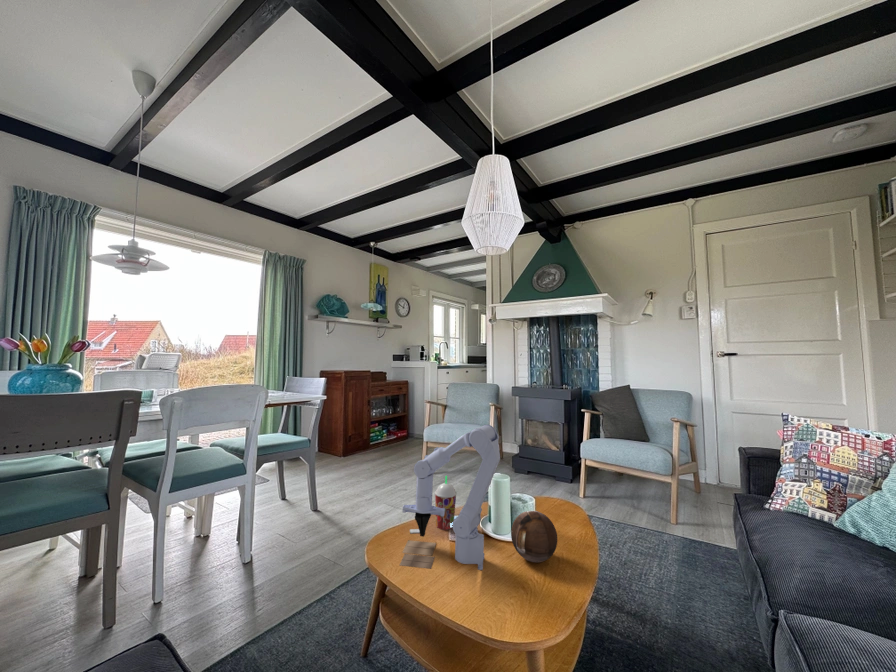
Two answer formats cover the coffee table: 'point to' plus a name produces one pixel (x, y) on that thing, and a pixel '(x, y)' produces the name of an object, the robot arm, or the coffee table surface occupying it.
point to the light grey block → (414, 531)
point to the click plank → (419, 548)
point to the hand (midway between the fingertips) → (422, 535)
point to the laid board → (417, 561)
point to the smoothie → (445, 504)
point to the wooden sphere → (534, 536)
